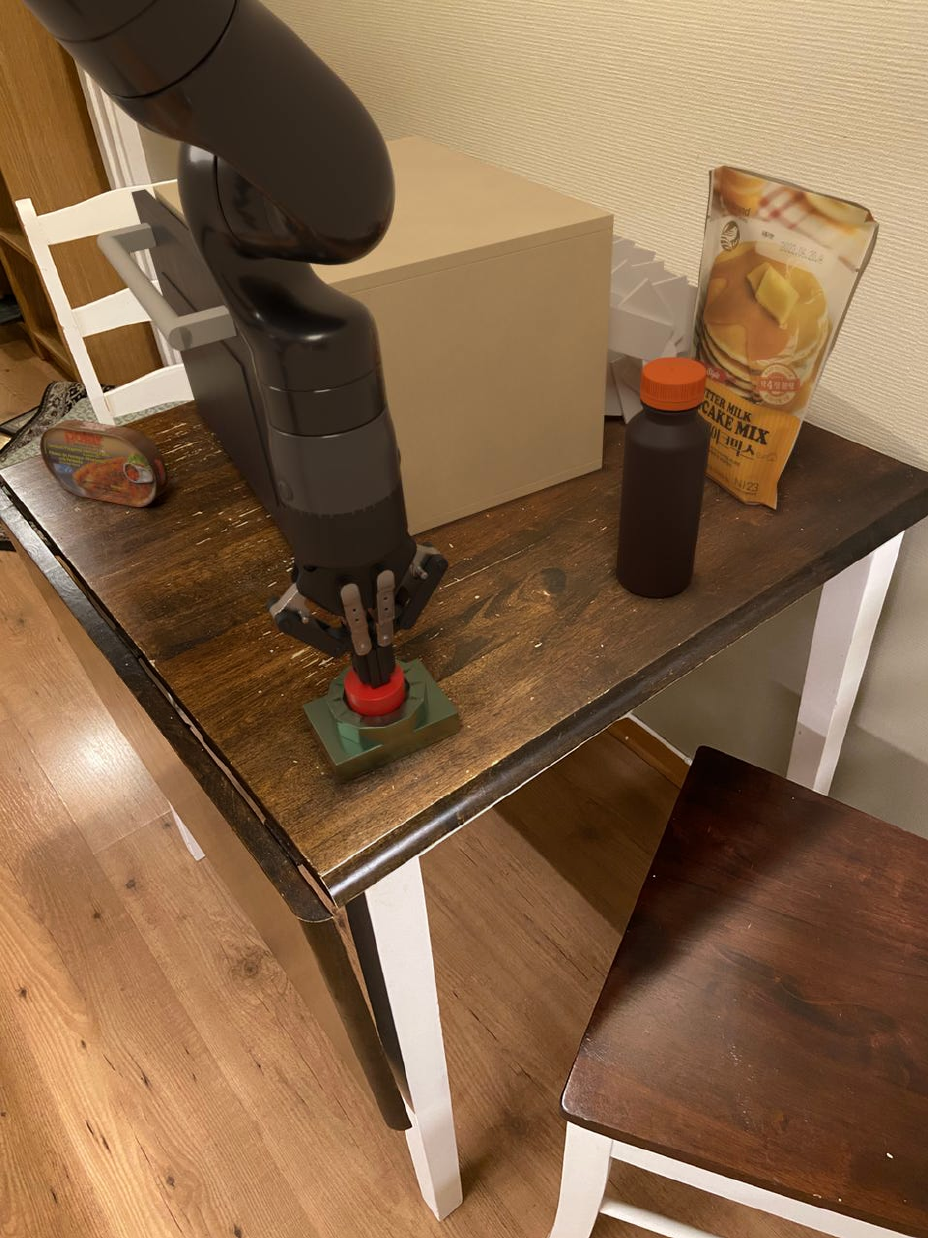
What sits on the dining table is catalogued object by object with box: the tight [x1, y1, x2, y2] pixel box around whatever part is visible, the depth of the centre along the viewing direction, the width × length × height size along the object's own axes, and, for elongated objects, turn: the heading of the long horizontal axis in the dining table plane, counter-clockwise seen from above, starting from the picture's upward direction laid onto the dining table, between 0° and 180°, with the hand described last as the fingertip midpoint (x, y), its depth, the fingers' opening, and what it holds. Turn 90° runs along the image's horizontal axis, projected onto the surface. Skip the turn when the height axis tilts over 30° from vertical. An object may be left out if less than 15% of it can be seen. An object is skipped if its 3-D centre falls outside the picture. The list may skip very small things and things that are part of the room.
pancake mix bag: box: [691, 165, 880, 510], centre depth 84 cm, size 7×19×28 cm, turn 24°
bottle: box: [615, 357, 711, 598], centre depth 74 cm, size 7×7×20 cm
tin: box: [39, 419, 169, 508], centre depth 94 cm, size 15×3×8 cm, turn 68°
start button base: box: [301, 657, 461, 785], centre depth 67 cm, size 10×7×4 cm
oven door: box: [96, 188, 291, 546], centre depth 89 cm, size 7×40×26 cm, turn 28°
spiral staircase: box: [604, 233, 698, 425], centre depth 103 cm, size 18×18×25 cm
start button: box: [344, 664, 406, 716], centre depth 65 cm, size 4×4×2 cm
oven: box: [152, 135, 615, 537], centre depth 95 cm, size 32×40×26 cm
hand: (375, 678), depth 65 cm, fingers closed
